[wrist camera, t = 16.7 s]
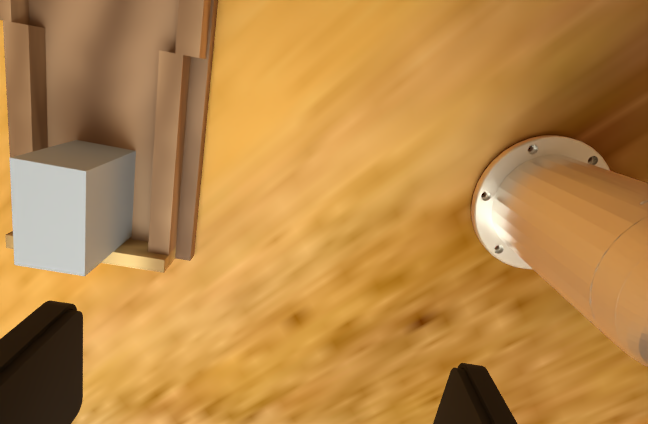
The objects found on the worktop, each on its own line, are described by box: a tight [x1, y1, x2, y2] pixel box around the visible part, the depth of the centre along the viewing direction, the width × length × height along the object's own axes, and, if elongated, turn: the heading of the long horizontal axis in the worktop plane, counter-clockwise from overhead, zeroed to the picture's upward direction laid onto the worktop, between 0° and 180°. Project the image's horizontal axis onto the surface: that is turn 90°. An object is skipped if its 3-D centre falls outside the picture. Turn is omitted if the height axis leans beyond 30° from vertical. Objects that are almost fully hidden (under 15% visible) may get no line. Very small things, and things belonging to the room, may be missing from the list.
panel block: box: [10, 140, 136, 276], centre depth 33 cm, size 5×8×8 cm, turn 169°
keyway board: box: [0, 0, 218, 273], centre depth 33 cm, size 16×30×4 cm, turn 170°
